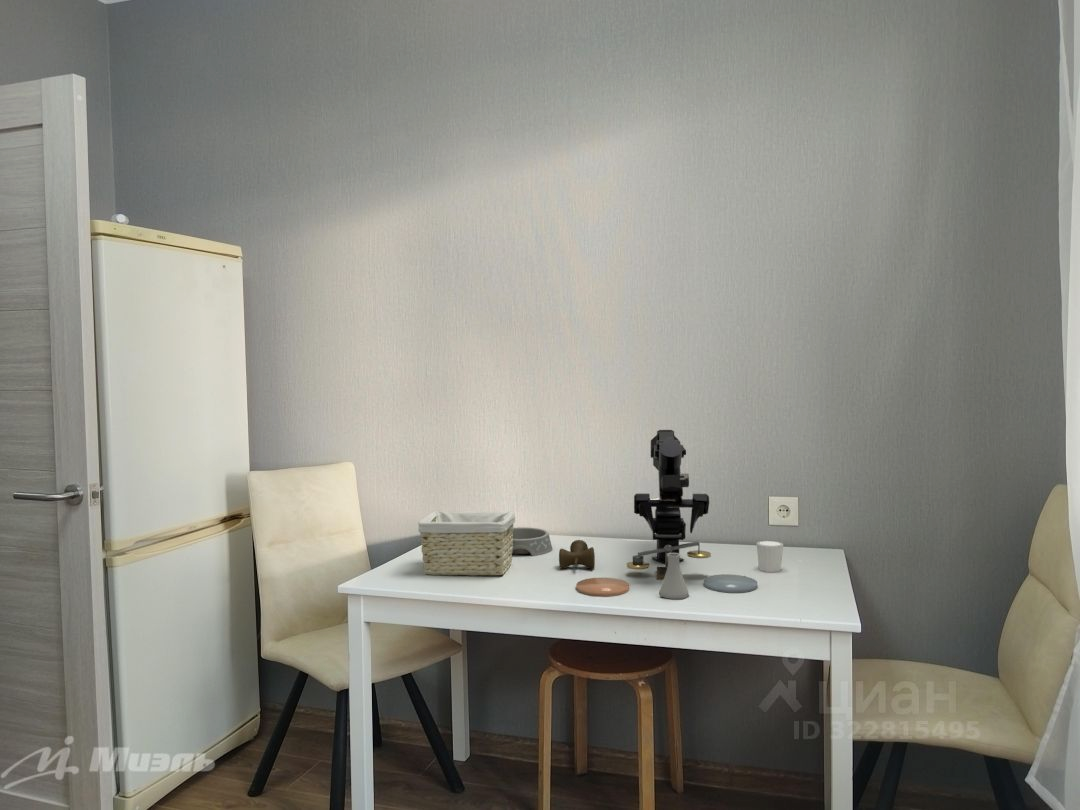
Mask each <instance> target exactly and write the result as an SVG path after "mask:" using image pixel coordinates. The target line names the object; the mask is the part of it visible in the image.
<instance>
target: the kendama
mask: <svg viewBox="0 0 1080 810" xmlns="http://www.w3.org/2000/svg"><path fill="white" fill-rule="evenodd" d="M569 547H570V548H569V550H567V549H564V548H559V552H558V564H559V568H560V570H564V569H566V568H569V567H571V566H578V565H581V566H584V567H587V568H588V569H589V570H590V569H591V570H594V569H595V565H596V563H595V562H596V559H595V557H596V556H595V554H596V553H595V549H594V547H593V546H592V547H591V546H590V547H589V546H588V544H587V542H586V541H584V540H583V539H576V540H574V541H572V542H571V544H570V546H569Z"/></svg>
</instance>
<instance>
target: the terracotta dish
mask: <svg viewBox="0 0 1080 810" xmlns="http://www.w3.org/2000/svg"><path fill="white" fill-rule="evenodd" d="M575 586H576V588H575V589H576V592H578V593H580V594H582V595H586V596H591V597H615V596H621V595H623V594H626V593H628V592H629V591H630V583H629V582H627V581H626V580H623V579H619V578H614V577H591V578H584V579H582V580H581V579H580V580H578V581H577V583H576V585H575Z"/></svg>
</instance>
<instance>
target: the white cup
mask: <svg viewBox="0 0 1080 810" xmlns="http://www.w3.org/2000/svg"><path fill="white" fill-rule="evenodd" d="M783 551H784V543H783V542H780V541H777V540H776V541H775V540H760V541H757V542H756V553H757V562H758V569H759V570H760V571H761V572H766V573H767V572H768V573H776V572H781V570H782V562H783Z"/></svg>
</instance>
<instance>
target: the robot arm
mask: <svg viewBox="0 0 1080 810" xmlns="http://www.w3.org/2000/svg"><path fill="white" fill-rule="evenodd" d="M686 455H687V449H686V448H685V447H684V444H681V441H680V439H678V437H676V435H675V431H674V430H673V429H659V430H656V435H655V436H654V437H653V438H652V439H650V458H651V459H652V465H653V467H655V469H656V471H658V489H659V491H658V492H659V493H658V494H659V498H650V493H642V492H641V493H640V492H639V493H635V494H634V496H633V513H634V514H635V515H639V517H643V518H644V520H645V521H646V522H647V524H648V526H649V528H650V530H651V532H652V540H653V541H655V540H656V549H660V548H664V547H665V546H666V545H671V546H676V545H680V541H684V540H686V529H687V527H686V526H687V524H686V522H685V520H684V518H683V517H682V516H681V515H682V514H681V508H683V509H684V508H685V509H687V508H691V515H690V522H689V523H690V524H689V533H690V534H692V533H693V531H694V529H695V526H696V523H697V521H698V519H699V518H702V517H703V516H704V515H707V514H709V507H710V496H709V495H708V494H707V493H692V498H690V499H689V498H687V499H686V498H685V499H684V498H683V495H684V488H689V486H690V477H689V473H682V472H681V465H682V459H684V458H685V456H686ZM652 508H655V510H654V514H653V509H652ZM653 515H654V516H653ZM671 553H679V554H680V549H676V550H672V552H671ZM651 557H652V560H655V561H657V562H659V563H662V564H666V552H660V553H656V556H651ZM684 560H685V559H684V558H681V557H679V562H683V561H684Z"/></svg>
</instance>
